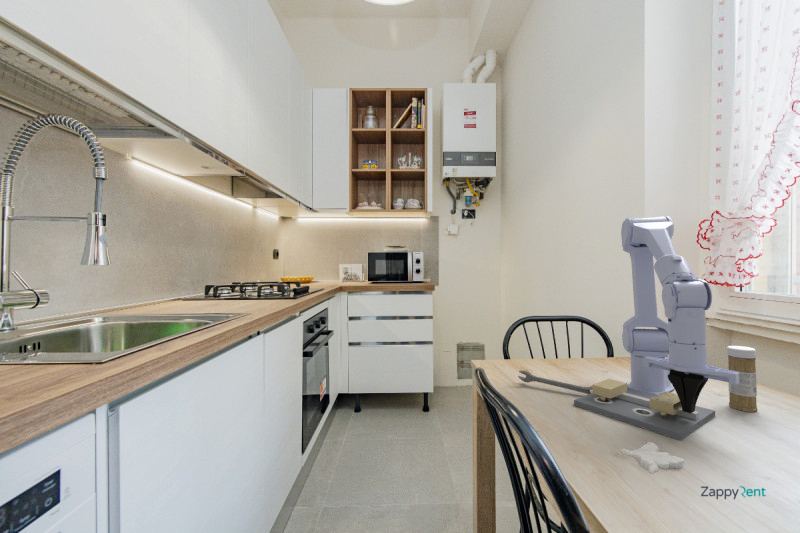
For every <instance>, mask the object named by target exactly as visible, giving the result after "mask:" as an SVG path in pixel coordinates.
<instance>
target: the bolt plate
mask: <svg viewBox="0 0 800 533" xmlns="http://www.w3.org/2000/svg"><path fill="white" fill-rule="evenodd" d="M591 385H592V390H591V394H585V395H584V396H581V397H578V398H575V399H573V406H576V407H578V408H581V409H584V410H586V411H587V410H588V411H590V412H593V413H596V414H600V415H603V416H606V417H608V418H612V419H615V420H617V421H621V422H623V423H627V424H629V425H632V426H636V427H639V428H642V429H645V430H648V431H651V432H654V433H656V434H660V435H663V436H666V437H668V438H672V439H675V440H678V441H682V440H684V439H685V438H686V437H688V436H690V435H691V434H693V433H694V432H695V431H696V430H698V429H700V427H702V426H704V425H705V424H707V423H708V422H709V421H711V420H712V419H714V418H715V417H716V410H714V409H710V408H706V407H702V406H698V405H696V406H695V411H694V412H693V413H687V412H684V411H683V410H682V411H680V412H678V413H677V414H675V415H671V414H668V413H666V417H661V416H660V411H657V410H654V409H650V398H652V397H654V396H656V395H652V394H648V393H644V392H640V391H636V390H632V389H628V388H627V385H628V383H627V382H623V381H620V380H614V379H611V378H608V379H604V380H602V381H599V382H596V383H594V384H591Z"/></svg>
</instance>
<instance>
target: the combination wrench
mask: <svg viewBox="0 0 800 533" xmlns="http://www.w3.org/2000/svg"><path fill="white" fill-rule="evenodd" d="M518 372H519V374H522V375H524V376H525V377H524V376H521V375H518V376H517V377H518V378H519V380H521V381H523V382H524V383H531V382H537V383H541V384H546V385H548V386H549V385H550V386H553V387H558V388H562V389H565V390H569V391H570V390H571V391H575V392H578V393H583V394H585V395H588V394H591V393H592V386H591V385H590V386H581V385H576V384H572V383H567V382H562V381H557V380H553V379H550V378H549V379H548V378H544V377H539V376H536V375H533V374H532V373H531V372H529V371H528V370H519V371H518Z"/></svg>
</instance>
